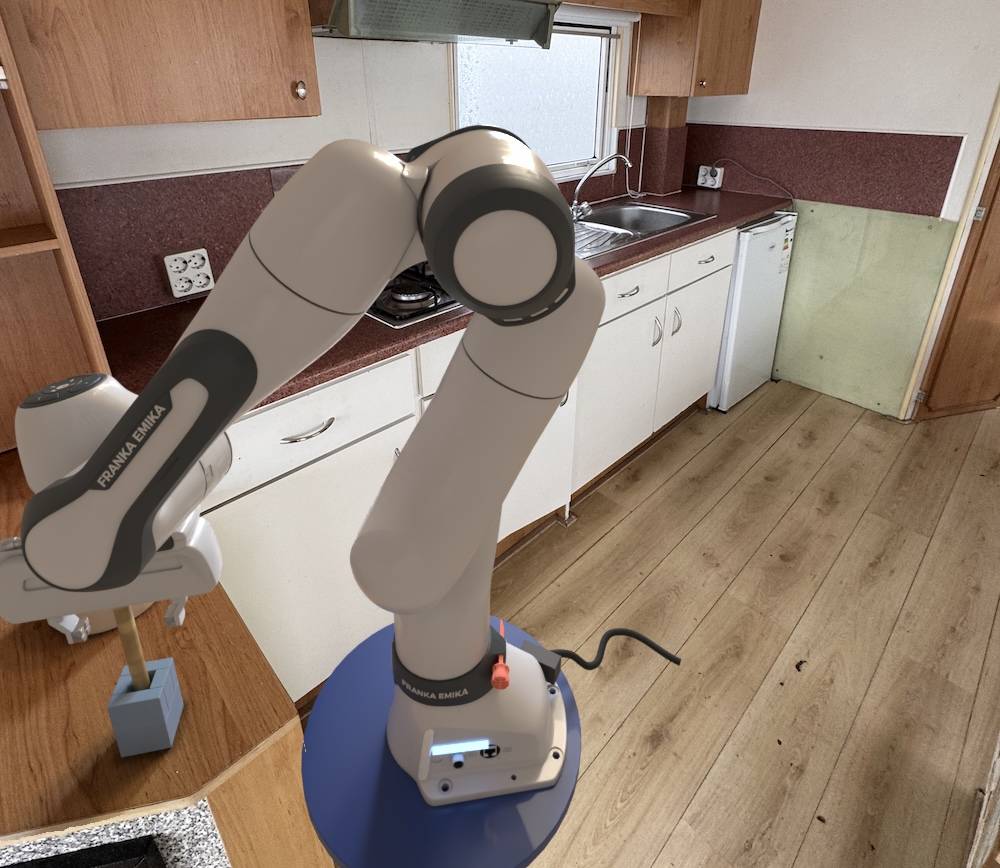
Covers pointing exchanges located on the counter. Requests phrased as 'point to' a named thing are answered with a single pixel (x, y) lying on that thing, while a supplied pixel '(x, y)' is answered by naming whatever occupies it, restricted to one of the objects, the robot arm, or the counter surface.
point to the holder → (146, 710)
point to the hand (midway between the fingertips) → (129, 629)
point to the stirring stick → (132, 648)
